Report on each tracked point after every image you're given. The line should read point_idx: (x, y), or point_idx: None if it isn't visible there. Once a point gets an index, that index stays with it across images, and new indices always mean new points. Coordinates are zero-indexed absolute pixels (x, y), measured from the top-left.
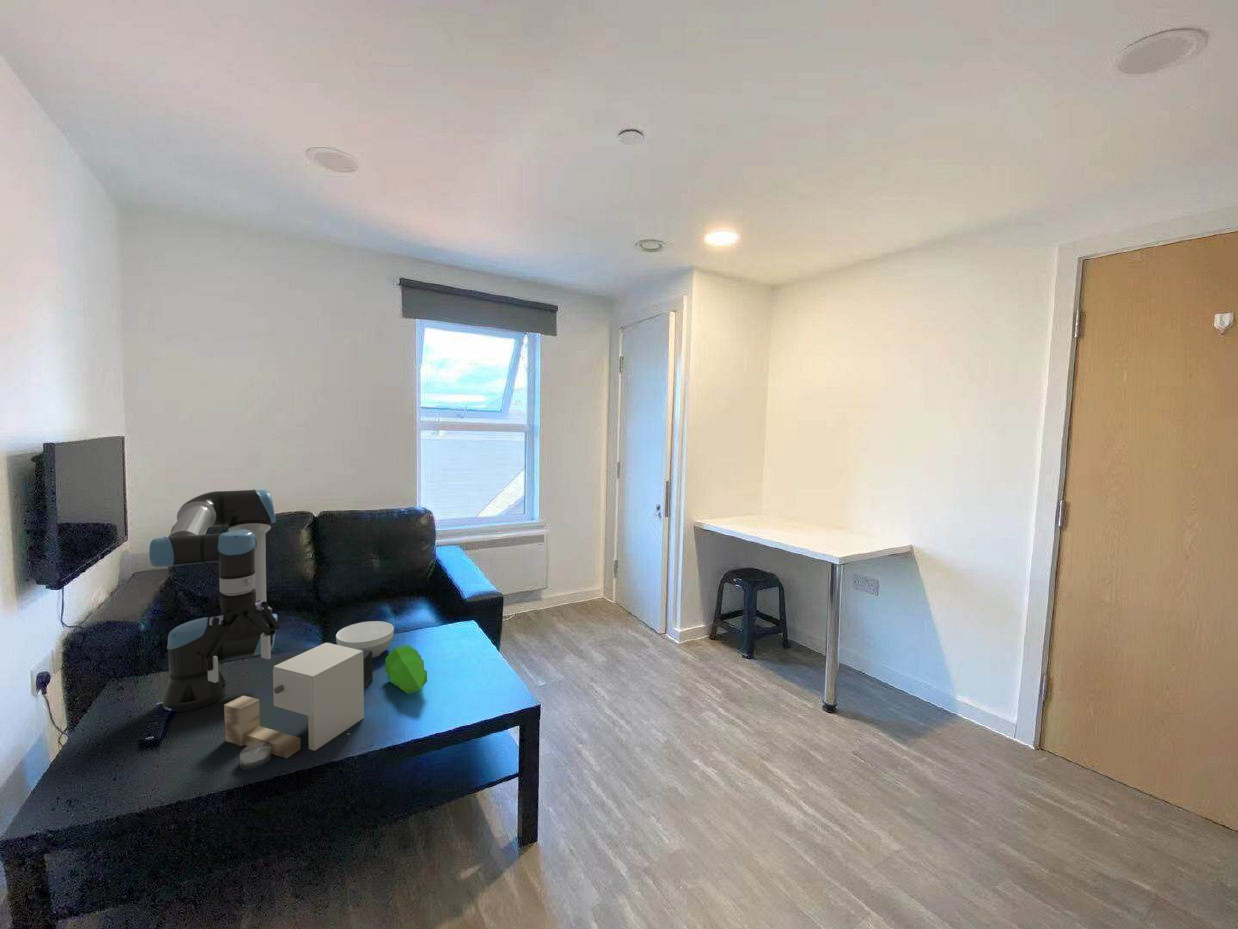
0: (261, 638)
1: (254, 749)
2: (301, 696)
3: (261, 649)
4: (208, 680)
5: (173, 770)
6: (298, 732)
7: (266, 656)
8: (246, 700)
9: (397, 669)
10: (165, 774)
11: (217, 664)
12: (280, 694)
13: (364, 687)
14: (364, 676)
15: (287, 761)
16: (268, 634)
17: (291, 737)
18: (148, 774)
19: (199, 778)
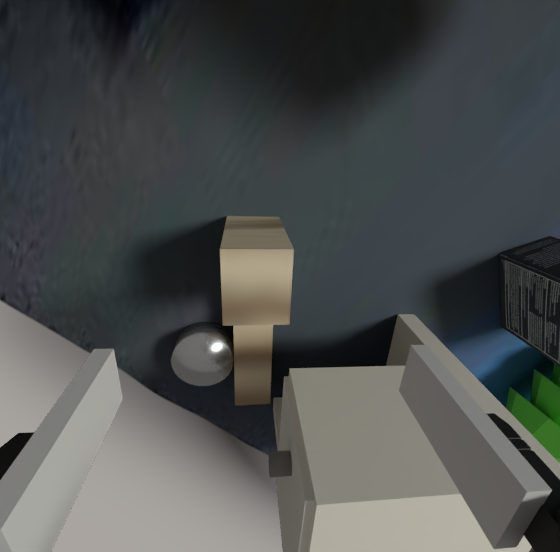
0: (496, 467)
1: (202, 358)
2: (283, 511)
3: (439, 385)
4: (93, 354)
5: (92, 215)
6: (312, 337)
7: (408, 391)
8: (270, 293)
9: (539, 440)
10: (73, 213)
11: (69, 507)
12: (287, 435)
13: (506, 329)
14: (531, 346)
15: (230, 394)
16: (530, 540)
17: (265, 388)
18: (46, 170)
19: (111, 299)
